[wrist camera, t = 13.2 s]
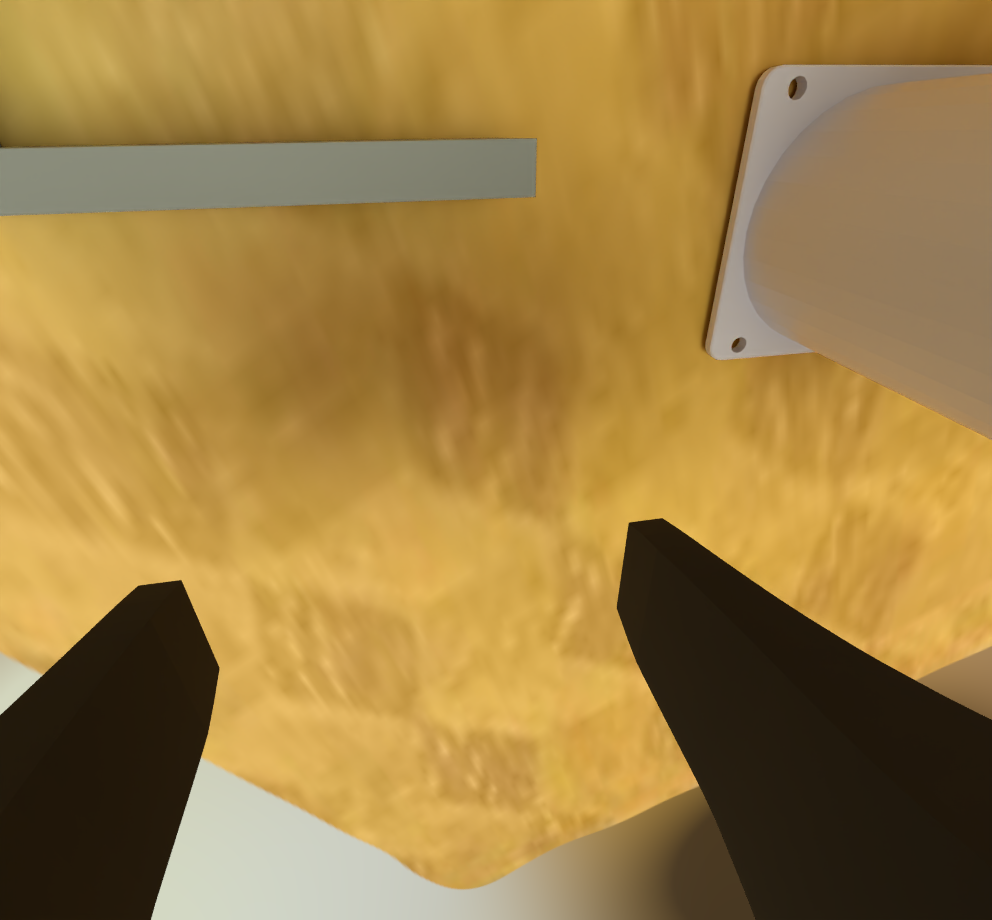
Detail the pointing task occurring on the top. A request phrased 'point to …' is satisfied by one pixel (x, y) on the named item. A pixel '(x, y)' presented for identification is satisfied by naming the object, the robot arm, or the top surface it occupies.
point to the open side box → (261, 174)
